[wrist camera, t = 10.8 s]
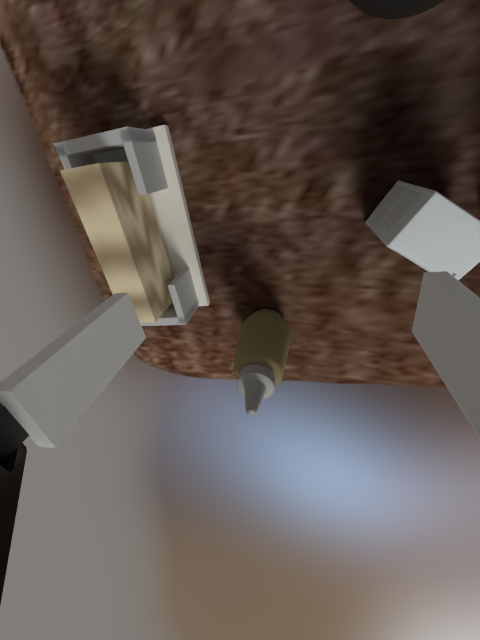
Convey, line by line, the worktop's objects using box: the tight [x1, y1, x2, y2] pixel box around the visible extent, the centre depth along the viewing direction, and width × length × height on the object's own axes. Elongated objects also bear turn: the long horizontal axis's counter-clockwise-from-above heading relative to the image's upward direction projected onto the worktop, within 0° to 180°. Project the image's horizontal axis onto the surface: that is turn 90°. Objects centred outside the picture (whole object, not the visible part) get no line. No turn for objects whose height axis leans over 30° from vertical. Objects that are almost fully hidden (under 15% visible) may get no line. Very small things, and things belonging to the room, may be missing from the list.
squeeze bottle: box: [234, 309, 291, 415], centre depth 37 cm, size 8×8×18 cm
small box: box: [365, 181, 480, 280], centre depth 28 cm, size 8×6×10 cm
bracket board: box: [54, 125, 210, 326], centre depth 37 cm, size 24×12×7 cm, turn 9°
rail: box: [60, 161, 174, 323], centre depth 34 cm, size 18×4×8 cm, turn 9°
